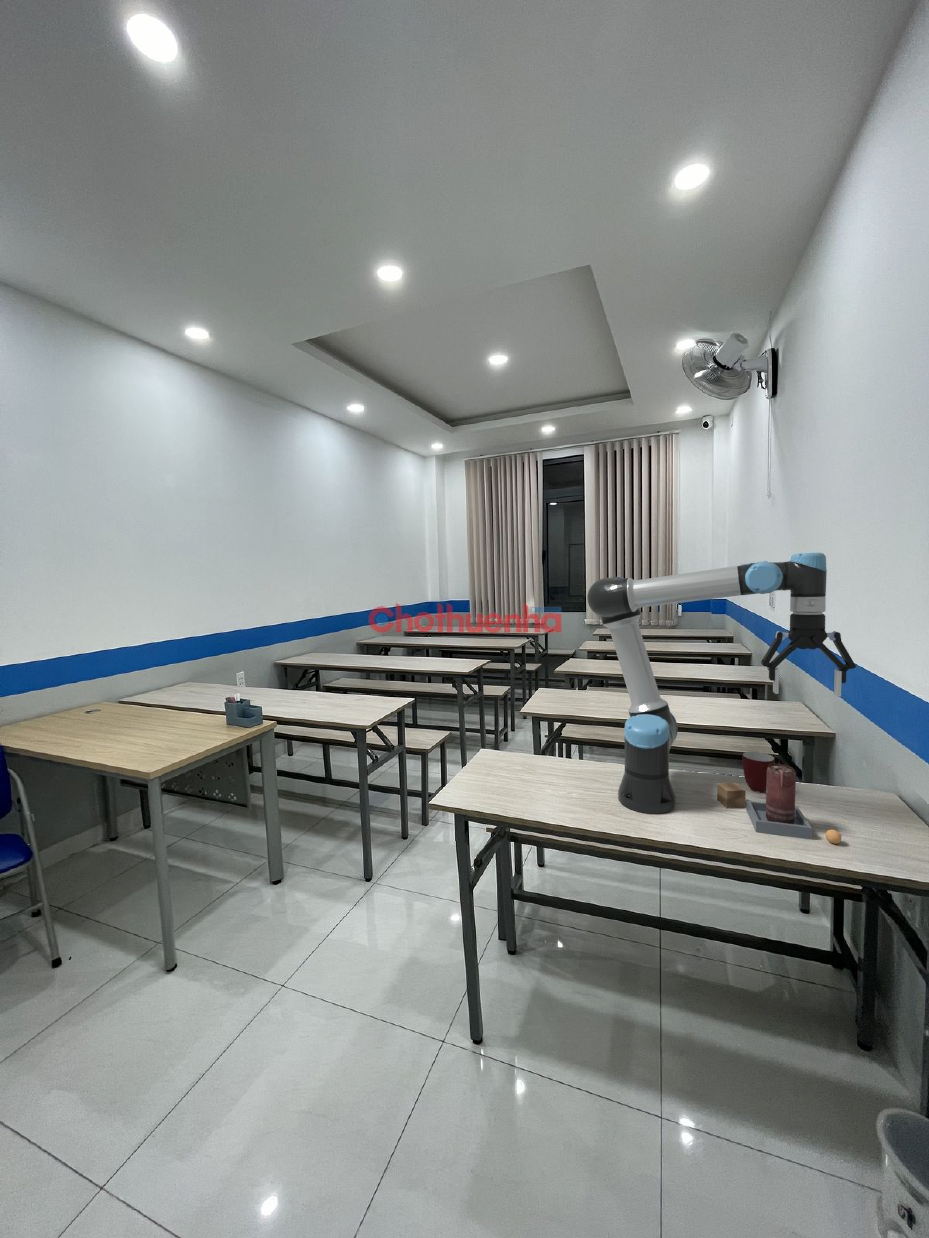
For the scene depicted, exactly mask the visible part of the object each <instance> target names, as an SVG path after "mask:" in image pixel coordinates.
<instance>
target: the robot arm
mask: <svg viewBox="0 0 929 1238" xmlns="http://www.w3.org/2000/svg"><path fill="white" fill-rule="evenodd" d="M827 571H828V570H827V556H826V554H824V552H823V553H822V552H804V553H803V552H802V553H793V554H791V556H790V559H789V560H788V561H783V562H781V561H778V562H777V561H776V562H771V561H767V560H765V561H758V562H749V563H742V564H740V565H734V566H728V567H726V566H725V567H720V568H711V569H707V570H699V571H694V572H693V571H692V572H686V573H679V574H677V573H676V574H671V575H664V576H657V577H651V578H643V579H637V580H635V579H633V578H632V577H626V578H624V577H620V576H614V577H613V576H612V577H605V578H600V579H598V580H596V581H595V582H594V583H592V585H591V586H590V588H589V589H588V592H587V604H588V607H589V608H590V610H591V611H592V612H593V613H594V614H595V615H597V616H599V617H600V620H601V623H602V626H603V627H605V628H607V629H609V632H610V636H611V638H612V642H613V646H614V648H615V652H616V656H617V659H618V662H619V665H620V669H621V673H622V675H623V680H624V682H625V685H626V690H627V693H628V696H629V700H630V703H631V705H630V707H628V710H627V711H628V714H629V717H628V719H626V721H625V723H624V728H623V736H624V773H623V776H622V779H621V782H620V784H619V786H618V789H617V790H618V792H617V794H618V801H619V803H620V804H621V805H623V806H624V807H626V808H628V809H629V810H632V811H635V812H639V813H645V814H653V815H654V814H656V815H657V814H665V813H668V812H670V811H671V812H672V810H674V809H675V808H676V794H675V791H674V789H673V786H672V782H671V780H670V771H669V767H670V766H669V765H670V763H669V762H670V761H669V760H670V750H671V747H672V745H673V744H674V742H675V740H676V739H677V736H678V723H677V720H676V718H675V715H674V714H673V713H672V712H671V710H670V706H669V703H668V702H667V700H665V699H664V698H662V697H661V695H660V691H659V689H658V688H659V687H658V684H657V682H656V679H655V676H654V672H653V669H652V665H651V661H650V658H649V655H648V653H647V652H648V651H647V649H646V646H645V642H644V638H643V635H642V632H641V629H640V628H641V627H640V624H639V620H640V617H641V616H642V614H641V609H640V608H646V607H648V608H649V607H655V606H663V605H664V606H665V605H672V604H679V603H688V602H695V601H696V602H697V601H706V600H714V599H721V598H730V597H738V596H739V597H740V596H748V595H749V596H750V595H757V594H759V595H764V594H765V595H766V594H771V593H773V592H774V591H776V592H778V591H782V592H783V591H784V592H785V591H790V592H789V593H790V595H789V596H790V599H789V600H790V602H789V603H790V605H789V607H790V608H789V609H790V610H789V611H790V612H792V613H791V614H790V615H789V630H788V632H783V631H780V630H777V631H775V633H774V634H775V635H774V640H773V641H772V643H771V645H770V646H769V647H768V649H767V651H766V653H765V654H764V656H763V658H762V659H761V661H760V664H761V666H763V667H766V668H768V679H769V681H772V693H774V695H777V694H778V695H779V693H780V692H779V689H780V688H779V686H780V685H779V684H780V683H779V682H780V681H779V679H780V669H778V666H779V665H780V664H781V663H782V662H783V661H784V660H786V658H788V657H789V655H791V654H792V653H793V652H794V651H796V650H797V648H798V649H800V650H807V649H808V650H816V649H819V650H820V651H821V653H823V655H825V657H826V658H828V659H829V660H830V661H831V662H832V663H833V664H834V665H835V666H836V668H838V669H836V668H835V669H834V673H833V675H834V678H833V679H834V681H833V682H834V683H833V695H834V696H836V697H837V698H838V697H842V684H846V682H847V672H848V671H849V670H852V669H855V668H857V666H856V663H855V662H854V660H853V659H852V657H851V655H850V653H849V651H848V649H847V648H846V647H845V645H844V643H843V642H842V636H841V632H838V631H835V630H834V631H831V632H827V631H826V615H825V614H824V612H826V611H827V610H826V603H827V601H826V600H827V599H826V598H827V575H828V573H827ZM786 638H788V639H789V640H790V642H789V643H788V644H787V645H786V647H785V648H783V650H782V651H781V652H780V653H778V654H777V655H776V656H775V657H774V655H775V654H776V652H777V650H778V648H779V647H780V646H781V644H782V642H783V641H785V640H786ZM826 639H829V640H830V641H832V642H833V644H834V646H835V647H836V649H837V651H838V653H839V654H840V657H841V658H842V659H843V662H844V663H843V662H842V661H841V660H840V659H839V658H838V657H837V656H836V655H835V654H834V653H833V652H832V651H831V650H830V649H829V648H828V647H827V646H826V645H825V643H824V642H825V641H826ZM773 657H774V658H773Z"/></svg>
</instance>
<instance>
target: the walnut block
mask: <svg viewBox="0 0 929 1238" xmlns="http://www.w3.org/2000/svg"><path fill="white" fill-rule="evenodd" d="M716 792H717V794H716V796H717V797H716V800H717V801H718V802H719V803H720V804H721V805H722V806H723V807H724V808H726V809H742V808H743V809H745V808H746V793H747V792H746V789H744V788H743V787H742V786H741V785H739V784H738V783H737V782H719V783H718V782H717V791H716Z"/></svg>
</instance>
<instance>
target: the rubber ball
mask: <svg viewBox="0 0 929 1238" xmlns="http://www.w3.org/2000/svg"><path fill="white" fill-rule="evenodd" d="M842 838H843V837H842V835H841V833H840V832H839V831H838V830H835V829H828V830H826V832H825V839H826V840H827V841H828V842H830V843H831V844H835V845H836V844H839V843H841V842H842V840H843V839H842Z"/></svg>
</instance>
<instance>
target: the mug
mask: <svg viewBox="0 0 929 1238" xmlns="http://www.w3.org/2000/svg"><path fill="white" fill-rule="evenodd" d="M741 759H742V760H741V763H742V768H743V769H742V770H743V775H744V780H745V782H746V785H747V786H748V787H749V789H750V790H751V791H753V792H756V793H765V792H766V783H767V768H768V767H769V765H770V764H776V763H775V757H774V756H773V755H771V754H768V753H765V752H759V751H745V752H743V753H742V757H741Z"/></svg>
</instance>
